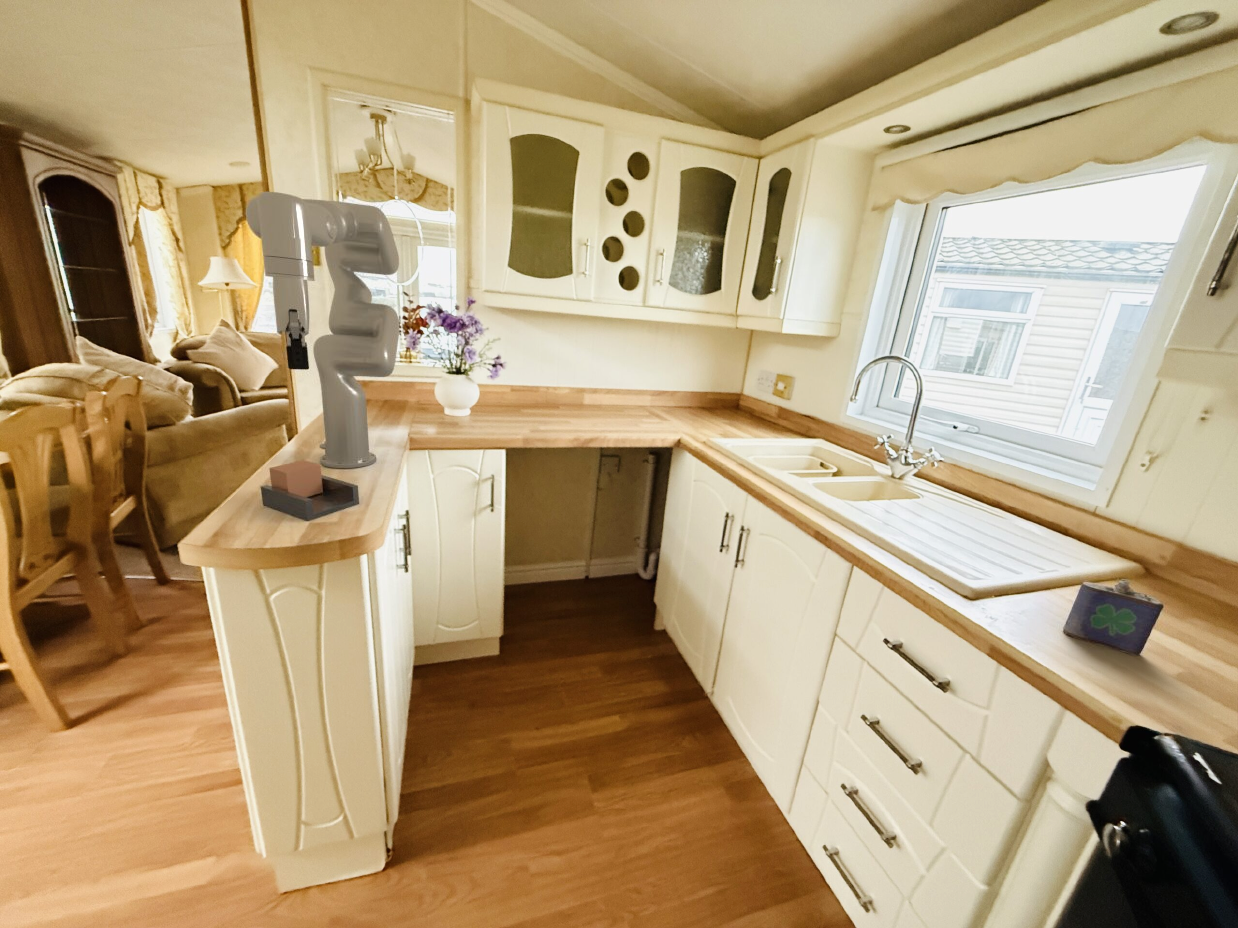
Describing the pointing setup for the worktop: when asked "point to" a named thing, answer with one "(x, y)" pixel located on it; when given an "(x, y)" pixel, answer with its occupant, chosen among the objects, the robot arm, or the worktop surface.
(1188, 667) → the worktop surface
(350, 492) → the chute
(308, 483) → the block
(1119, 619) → the flask
